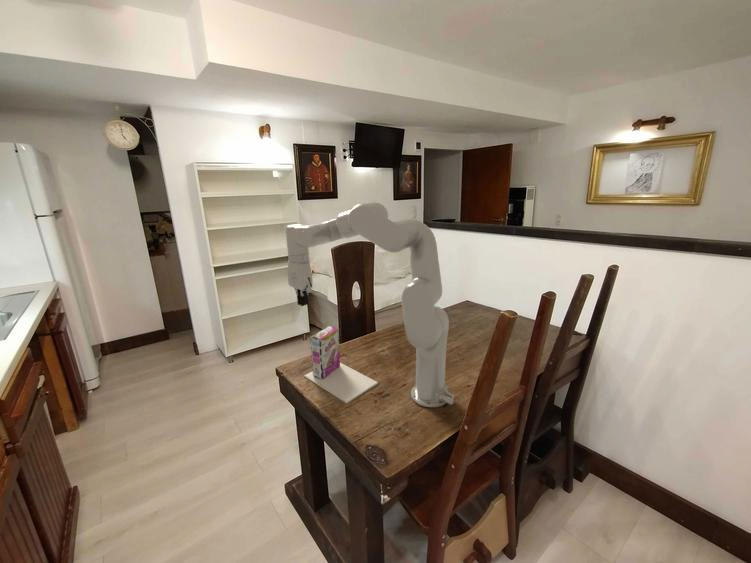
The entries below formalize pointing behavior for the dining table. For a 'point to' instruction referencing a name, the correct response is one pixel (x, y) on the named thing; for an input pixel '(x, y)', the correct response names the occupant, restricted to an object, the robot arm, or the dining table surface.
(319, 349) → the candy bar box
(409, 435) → the dining table surface
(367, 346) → the dining table surface
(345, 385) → the mat
